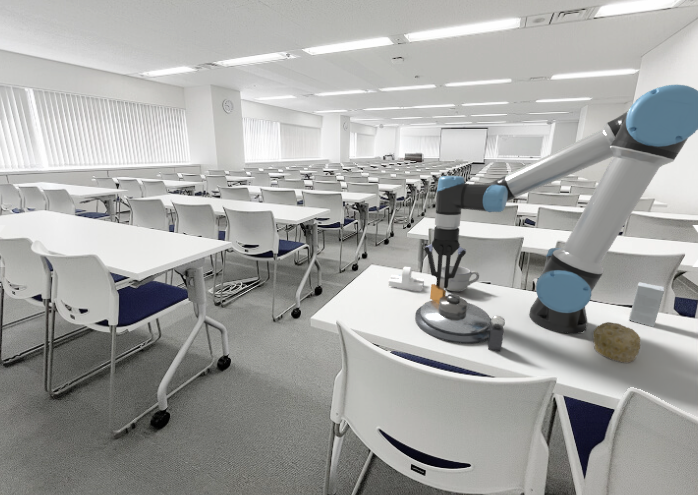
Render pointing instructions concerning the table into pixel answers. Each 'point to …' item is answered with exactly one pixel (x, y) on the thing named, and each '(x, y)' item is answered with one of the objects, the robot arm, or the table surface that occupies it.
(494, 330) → the dark bottle
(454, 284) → the teacup
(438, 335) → the turntable base
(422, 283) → the slotted bracket
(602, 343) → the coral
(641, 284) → the skincare box
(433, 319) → the turntable
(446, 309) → the cover
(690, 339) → the table surface
